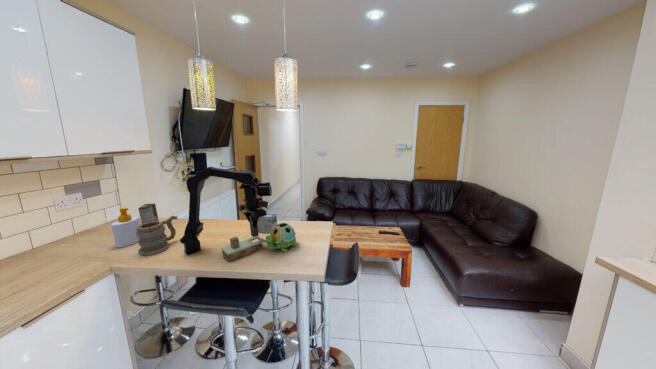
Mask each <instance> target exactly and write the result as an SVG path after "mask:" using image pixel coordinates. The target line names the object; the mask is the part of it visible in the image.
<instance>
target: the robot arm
mask: <svg viewBox="0 0 656 369" xmlns="http://www.w3.org/2000/svg"><path fill="white" fill-rule="evenodd" d="M210 177H215V178H221V179H227V180H233V181H236V182H238V183H241V185H240V186H239V188H238V189H239V190H242V189H243V195H244V198H243V202H244V203H242V204H240V205H238V211H239V212H242V211H243V212H242V214H243V215H244V217H245V219H246V220H247V221H248V223H249V224H250V221H251V222H252V224H253V226H254V227H256V226H257V222H258V218H259V217H263V216H266V215H267V213H268V212H267V210H265V209H268V206H269V201H266V200H264V199H263V198H261V197H272V195H273V189H272V185H271V182H269V181H267V182H261V181H260V179H259V178H257V177H256V173H255V172H254V171H252V170H240V171H238V170H237V171H236V170H231V169H225V168H220V167H219V168H217V167H215V166H214V167H213V166H208V167H205V168H204V169H203V170H202V171H200V172H198V173H197V174H194V175H191V176H189V177H188V178H187V179H186V183H185V184H186V188H187V191H188V193H189V199H188V200H189V204H188V221H187V224H186V226H185V228H184V233H183V236H182V237H181V238H180V239H179V242H180V244H181V245H183V248H184V249H183V252H184V253H185V254H186V256H188V255H192V254H195V253H198V252H201V251H202V247H201V241H200V240H199V238H198V237H200V234H201V233H202V232H203V230H204V222H201V220H200V211H201V209H200V208H201V194H202V191H203V189H204V186H205V182H206V180H208V178H210ZM258 196H259V197H258Z"/></svg>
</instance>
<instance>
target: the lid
mask: <svg viewBox="0 0 656 369" xmlns="http://www.w3.org/2000/svg"><path fill="white" fill-rule="evenodd" d="M239 240H240V239H239V238H238V237H237V236H234V237H231V238H229V243H230V244H229V245H226V246H223V247H220V250H221V252H222V251H224V252H225V253H226V254H227V255H231V254H234V253H236V252H239V251H242V250H244V249H247V248H250V247H252V246H255V245H256V246H259V245H258V244H264V243H265V240H266V239H264V238H263V237H261V236H259V235H258V236H255V237H253V236H251V237H250V238H245V239H243V240H240V241H239ZM255 240H257V241H255ZM253 241H254V242H253ZM256 246H255V247H256Z"/></svg>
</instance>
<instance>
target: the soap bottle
mask: <svg viewBox="0 0 656 369" xmlns="http://www.w3.org/2000/svg"><path fill="white" fill-rule="evenodd" d="M127 211H129V208H127V207H120V208H119V212H120V214H119V215H118V218H117V221H114V222H113V223H111V225H110V226H111V230H112V231H111V232H112V235H113V240H114V243H115V247H116V248H124V247H128V246H132V245H133V244H136V243H138V241H139V237H137V235H136V232H137V227H138V226H139V225H141V224H142V223H141V219H140V216H139V217H138V216H132V215H131V214H129V213H128V212H127Z"/></svg>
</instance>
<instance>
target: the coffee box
mask: <svg viewBox="0 0 656 369" xmlns="http://www.w3.org/2000/svg"><path fill="white" fill-rule="evenodd" d="M138 213H139V219H140V224H144V223H147V222H152V221H160V220H159V217H158V216H159V215H158V210H157V206H156V203H144V204H143V205H141V206H140V207H138Z"/></svg>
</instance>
